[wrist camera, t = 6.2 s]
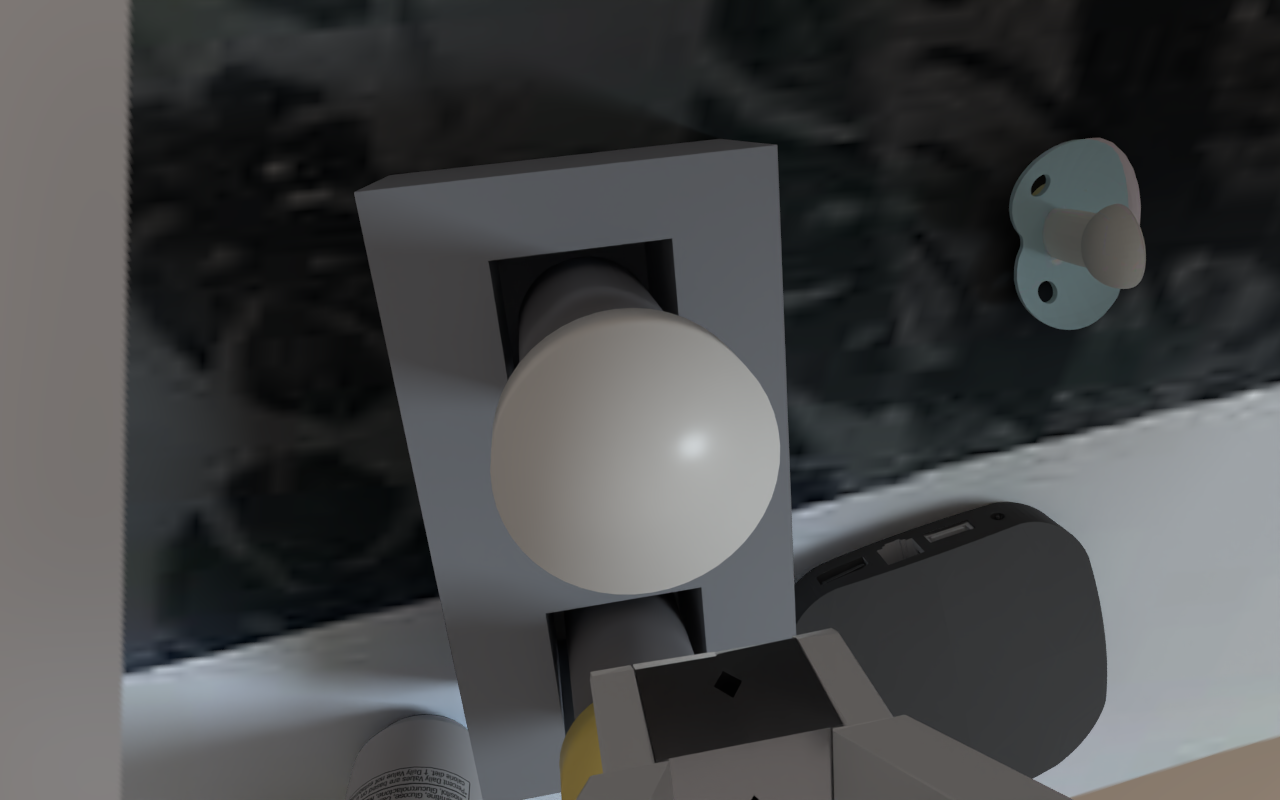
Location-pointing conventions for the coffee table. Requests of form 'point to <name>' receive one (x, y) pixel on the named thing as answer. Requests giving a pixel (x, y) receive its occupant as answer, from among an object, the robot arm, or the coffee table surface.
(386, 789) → the energy drink can
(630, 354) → the knob white
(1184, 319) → the coffee table surface
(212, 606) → the coffee table surface
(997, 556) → the media streaming box
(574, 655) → the knob mustard
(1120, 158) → the pacifier
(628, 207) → the mount
